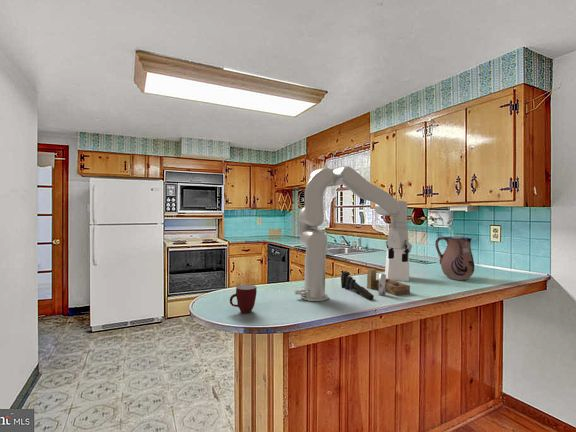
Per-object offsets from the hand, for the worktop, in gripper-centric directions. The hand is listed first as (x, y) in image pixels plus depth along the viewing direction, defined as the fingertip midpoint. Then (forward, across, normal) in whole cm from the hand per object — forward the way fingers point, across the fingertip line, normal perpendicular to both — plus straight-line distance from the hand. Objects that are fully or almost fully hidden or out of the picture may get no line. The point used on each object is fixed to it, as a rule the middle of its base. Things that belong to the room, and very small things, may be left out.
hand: (397, 260), depth 158 cm
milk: (+17, -25, +22) cm, 37 cm away
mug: (+16, +2, -79) cm, 81 cm away
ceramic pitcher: (+16, -13, +55) cm, 59 cm away
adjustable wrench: (+17, -6, -20) cm, 27 cm away
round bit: (+16, +1, -10) cm, 19 cm away
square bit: (+16, -11, -7) cm, 21 cm away
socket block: (+16, -4, 0) cm, 17 cm away
